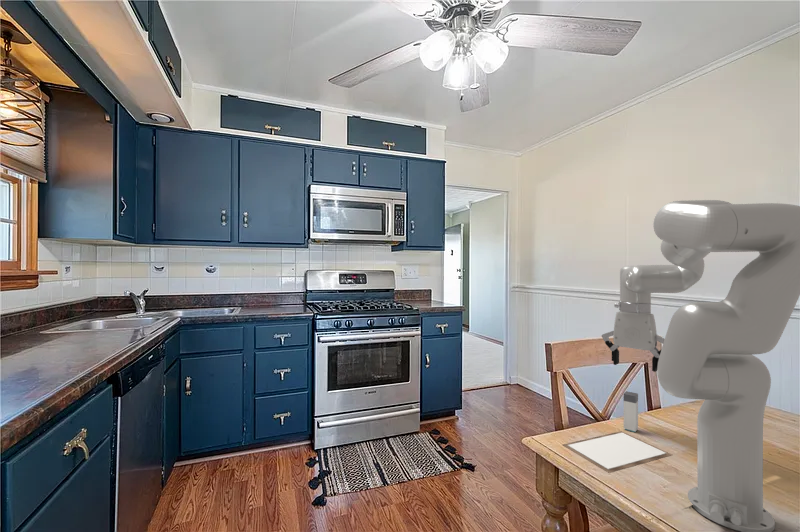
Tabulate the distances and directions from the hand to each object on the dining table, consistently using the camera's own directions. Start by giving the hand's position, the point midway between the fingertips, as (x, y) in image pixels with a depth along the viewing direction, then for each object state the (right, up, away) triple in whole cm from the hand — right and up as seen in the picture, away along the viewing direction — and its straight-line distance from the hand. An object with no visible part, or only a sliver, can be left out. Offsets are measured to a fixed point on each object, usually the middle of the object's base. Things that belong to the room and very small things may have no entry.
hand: (635, 367), depth 105 cm
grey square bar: (-1, -19, 0) cm, 19 cm away
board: (-12, -19, -12) cm, 25 cm away
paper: (-12, -18, -12) cm, 25 cm away
